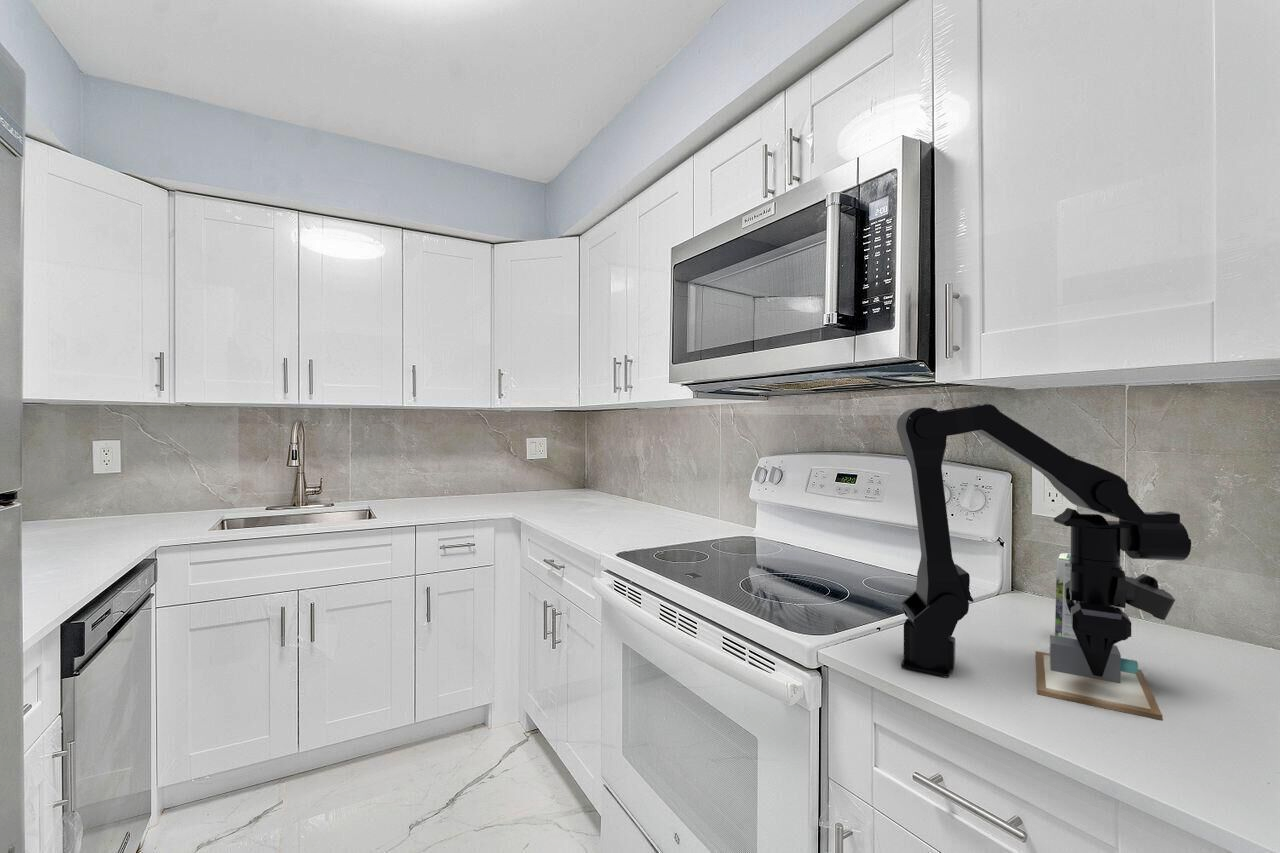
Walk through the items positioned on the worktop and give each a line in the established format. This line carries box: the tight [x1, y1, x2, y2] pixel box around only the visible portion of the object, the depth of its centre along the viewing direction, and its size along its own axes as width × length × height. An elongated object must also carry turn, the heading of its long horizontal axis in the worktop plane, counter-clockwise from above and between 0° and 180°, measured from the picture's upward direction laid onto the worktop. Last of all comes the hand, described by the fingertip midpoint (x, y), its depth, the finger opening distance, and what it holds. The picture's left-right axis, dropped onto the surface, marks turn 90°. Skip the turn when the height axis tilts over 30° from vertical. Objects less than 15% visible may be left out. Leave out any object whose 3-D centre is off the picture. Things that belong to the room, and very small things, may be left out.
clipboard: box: [1035, 650, 1164, 721], centre depth 84 cm, size 13×16×2 cm
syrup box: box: [1054, 552, 1077, 639], centre depth 99 cm, size 6×6×14 cm
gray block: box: [1049, 634, 1139, 684], centre depth 85 cm, size 10×4×4 cm, turn 57°
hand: (1094, 664), depth 85 cm, fingers open, 9 cm apart
